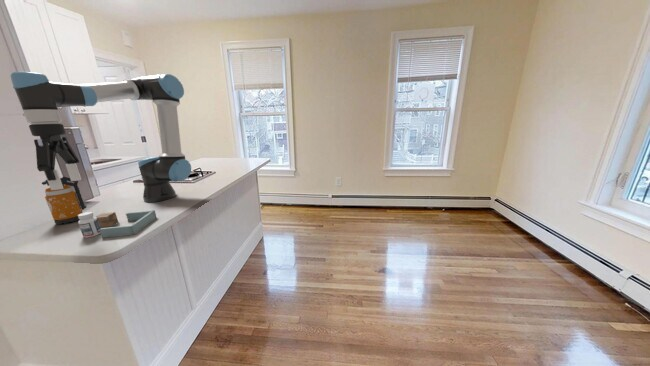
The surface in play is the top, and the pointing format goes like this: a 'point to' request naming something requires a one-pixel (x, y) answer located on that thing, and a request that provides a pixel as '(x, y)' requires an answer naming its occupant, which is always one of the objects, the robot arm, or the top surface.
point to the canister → (64, 201)
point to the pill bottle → (88, 224)
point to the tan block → (107, 219)
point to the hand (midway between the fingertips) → (67, 184)
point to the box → (142, 218)
